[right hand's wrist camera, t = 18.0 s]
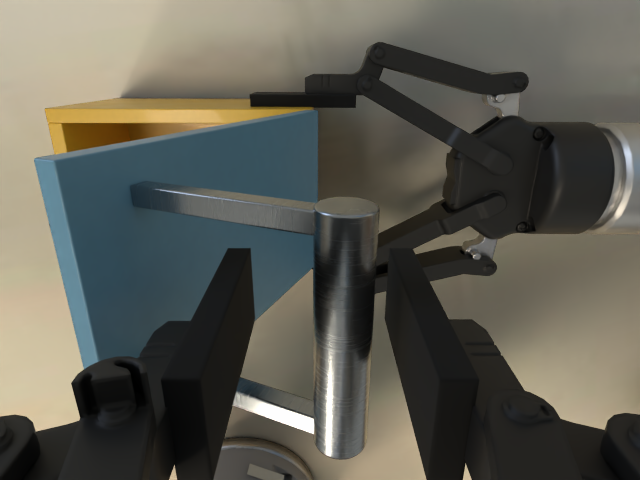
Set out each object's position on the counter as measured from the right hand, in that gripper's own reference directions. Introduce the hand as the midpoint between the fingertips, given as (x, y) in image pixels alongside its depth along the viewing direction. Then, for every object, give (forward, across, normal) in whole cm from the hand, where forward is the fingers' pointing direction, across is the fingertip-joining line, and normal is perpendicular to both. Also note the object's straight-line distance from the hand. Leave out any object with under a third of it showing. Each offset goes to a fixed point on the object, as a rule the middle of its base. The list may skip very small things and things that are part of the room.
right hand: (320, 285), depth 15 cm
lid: (+5, +4, 0) cm, 7 cm away
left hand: (+16, +4, 0) cm, 17 cm away
